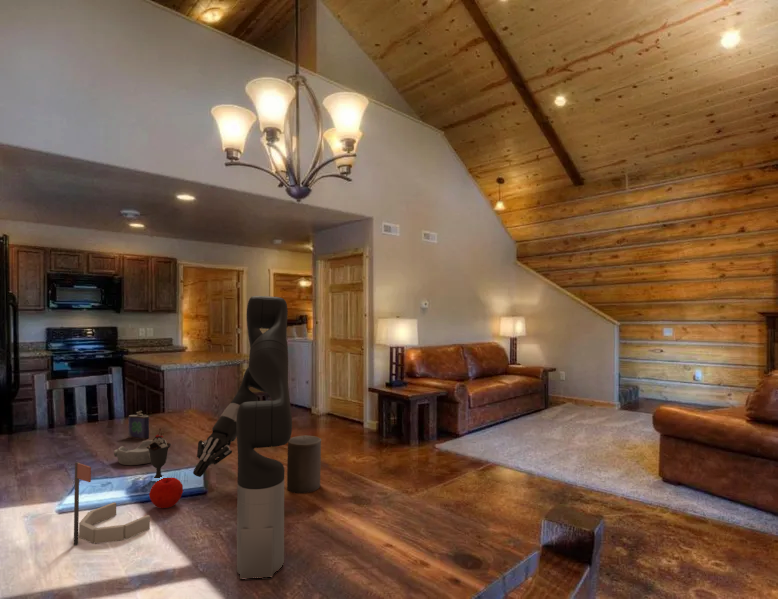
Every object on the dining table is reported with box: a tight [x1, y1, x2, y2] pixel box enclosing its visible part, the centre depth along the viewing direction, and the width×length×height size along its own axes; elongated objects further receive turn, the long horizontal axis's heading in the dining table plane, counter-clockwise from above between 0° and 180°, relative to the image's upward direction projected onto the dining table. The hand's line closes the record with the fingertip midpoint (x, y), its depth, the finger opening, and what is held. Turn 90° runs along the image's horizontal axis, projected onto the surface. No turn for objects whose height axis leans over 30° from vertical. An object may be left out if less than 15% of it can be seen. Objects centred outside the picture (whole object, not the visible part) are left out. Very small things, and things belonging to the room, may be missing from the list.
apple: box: [148, 477, 184, 509], centre depth 117 cm, size 8×8×7 cm
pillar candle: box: [286, 434, 322, 494], centre depth 131 cm, size 10×10×15 cm
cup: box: [73, 461, 151, 546], centre depth 104 cm, size 13×15×18 cm
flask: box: [127, 410, 150, 440], centre depth 180 cm, size 9×3×11 cm, turn 76°
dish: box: [113, 439, 153, 466], centre depth 154 cm, size 14×14×5 cm
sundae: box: [147, 427, 172, 478], centre depth 136 cm, size 7×7×15 cm
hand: (196, 475), depth 125 cm, fingers closed
